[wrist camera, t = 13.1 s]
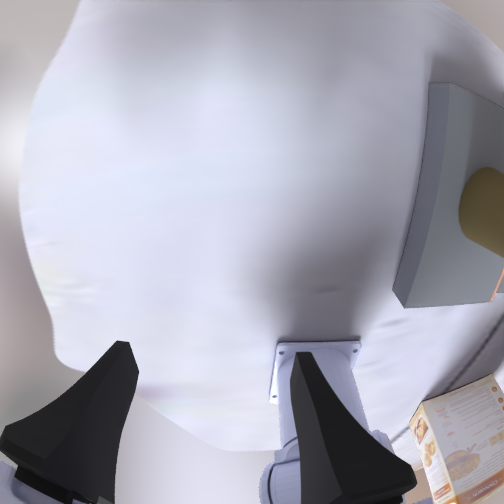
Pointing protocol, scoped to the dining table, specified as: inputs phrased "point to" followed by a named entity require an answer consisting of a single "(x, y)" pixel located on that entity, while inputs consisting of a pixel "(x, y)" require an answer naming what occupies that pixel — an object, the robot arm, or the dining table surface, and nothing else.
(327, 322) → the dining table surface
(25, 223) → the dining table surface
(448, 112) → the stepped stand
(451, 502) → the coffeecake box
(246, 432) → the dining table surface
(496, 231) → the cork
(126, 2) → the dining table surface
